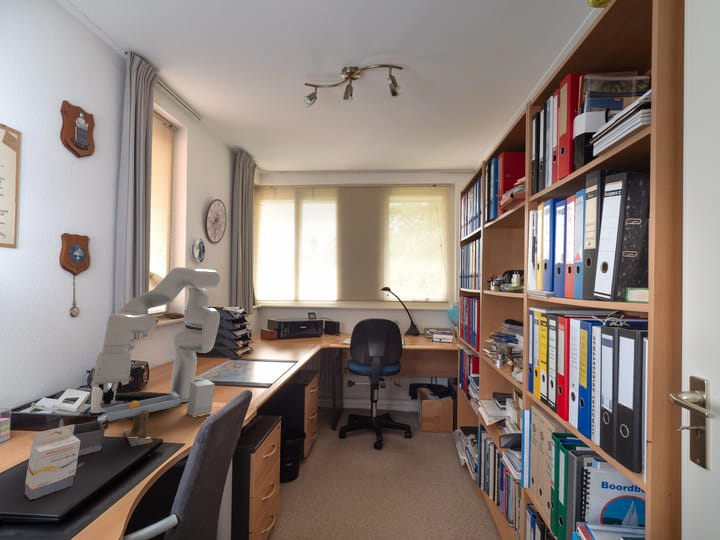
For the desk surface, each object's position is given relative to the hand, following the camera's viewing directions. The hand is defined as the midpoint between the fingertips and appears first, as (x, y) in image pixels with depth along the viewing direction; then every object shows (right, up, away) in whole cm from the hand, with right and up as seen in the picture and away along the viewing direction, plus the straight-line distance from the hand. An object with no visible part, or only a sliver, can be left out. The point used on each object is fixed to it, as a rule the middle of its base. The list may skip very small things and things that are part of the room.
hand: (107, 402), depth 115 cm
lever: (+10, -2, +3) cm, 10 cm away
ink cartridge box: (+9, -10, -31) cm, 34 cm away
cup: (+1, -10, -12) cm, 16 cm away
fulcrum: (+12, -12, -1) cm, 16 cm away
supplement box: (+20, -14, +23) cm, 34 cm away
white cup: (-15, -10, +16) cm, 24 cm away
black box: (-1, -12, +20) cm, 23 cm away
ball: (+11, 0, -2) cm, 11 cm away
